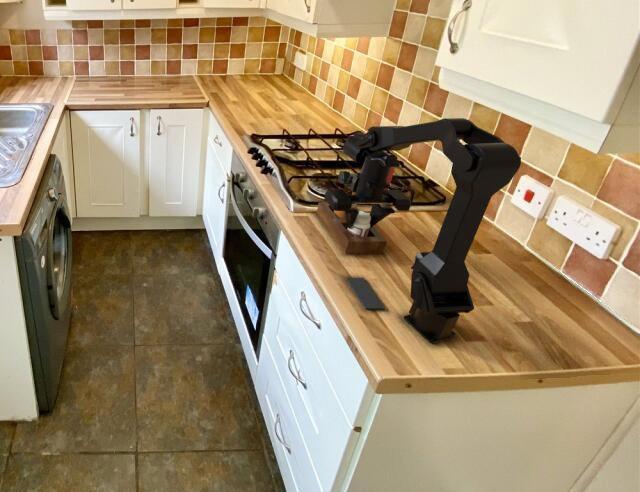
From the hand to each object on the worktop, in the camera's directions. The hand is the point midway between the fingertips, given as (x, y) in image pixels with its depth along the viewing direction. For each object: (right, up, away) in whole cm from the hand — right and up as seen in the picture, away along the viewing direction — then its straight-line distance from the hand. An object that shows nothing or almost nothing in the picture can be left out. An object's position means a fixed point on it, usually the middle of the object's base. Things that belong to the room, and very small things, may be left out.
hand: (358, 227), depth 105 cm
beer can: (+18, +6, +24) cm, 30 cm away
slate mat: (-7, -12, -14) cm, 20 cm away
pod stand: (0, -2, +5) cm, 6 cm away
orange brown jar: (0, -1, +9) cm, 9 cm away
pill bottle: (0, -4, +2) cm, 5 cm away
